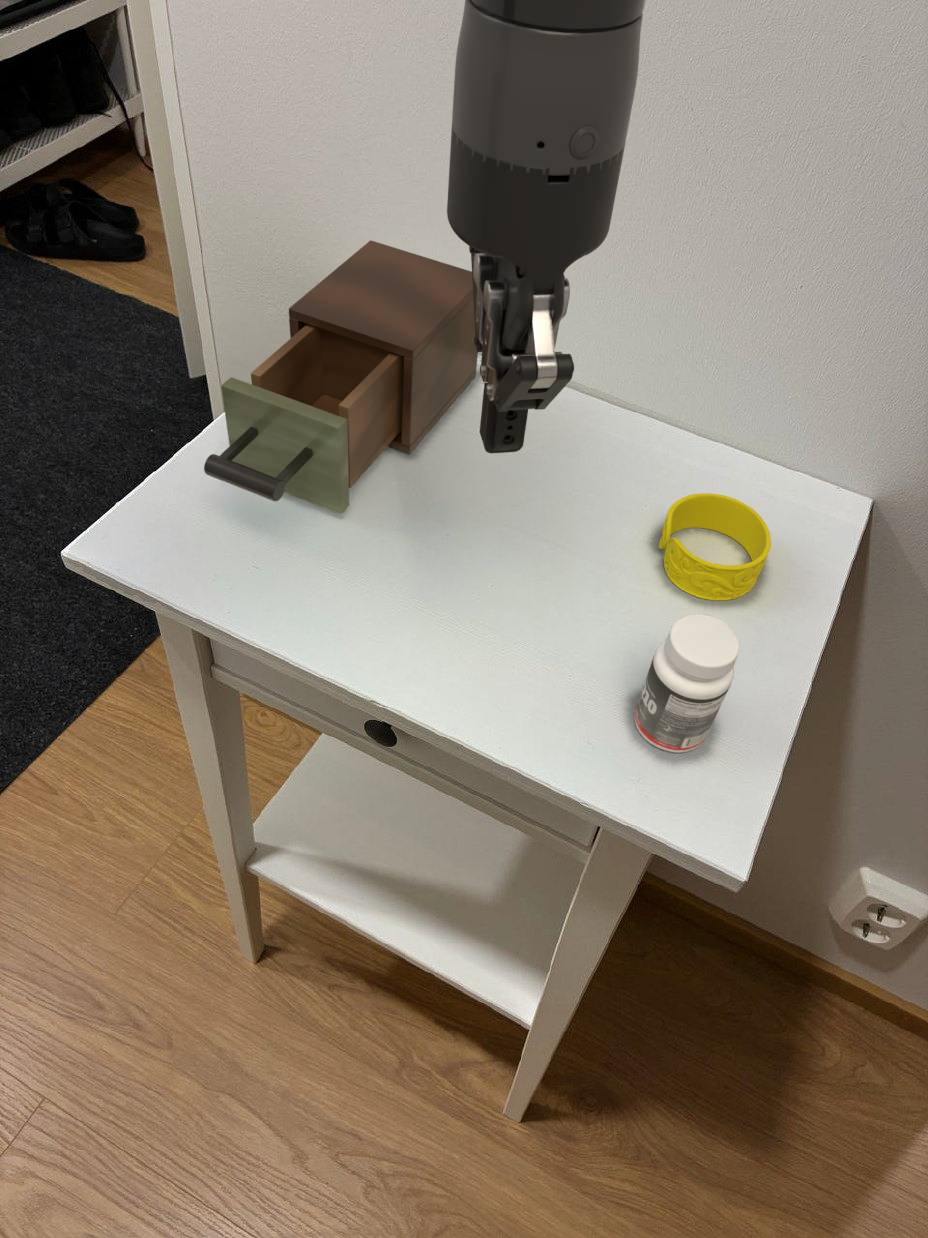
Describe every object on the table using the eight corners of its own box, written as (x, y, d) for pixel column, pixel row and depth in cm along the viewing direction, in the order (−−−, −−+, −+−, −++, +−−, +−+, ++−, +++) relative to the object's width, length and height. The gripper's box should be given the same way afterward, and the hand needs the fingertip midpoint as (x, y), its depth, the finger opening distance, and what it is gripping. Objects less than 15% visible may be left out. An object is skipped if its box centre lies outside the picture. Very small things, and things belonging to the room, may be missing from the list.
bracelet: (741, 524, 74) (754, 492, 72) (771, 601, 69) (786, 568, 67) (649, 524, 74) (658, 491, 71) (672, 601, 68) (684, 569, 66)
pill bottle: (635, 688, 63) (664, 601, 57) (707, 700, 63) (744, 615, 56) (631, 747, 60) (661, 662, 54) (707, 761, 59) (746, 677, 53)
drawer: (302, 559, 67) (295, 472, 61) (189, 513, 69) (173, 425, 64) (413, 431, 78) (417, 346, 72) (313, 394, 80) (308, 309, 74)
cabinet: (409, 455, 77) (413, 350, 70) (295, 413, 80) (288, 308, 72) (476, 376, 85) (485, 275, 78) (370, 340, 87) (370, 239, 80)
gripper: (428, 63, 45) (416, 379, 58) (484, 194, 36) (455, 530, 49) (583, 64, 46) (538, 373, 59) (672, 191, 38) (596, 520, 51)
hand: (500, 444), depth 54 cm, fingers closed
